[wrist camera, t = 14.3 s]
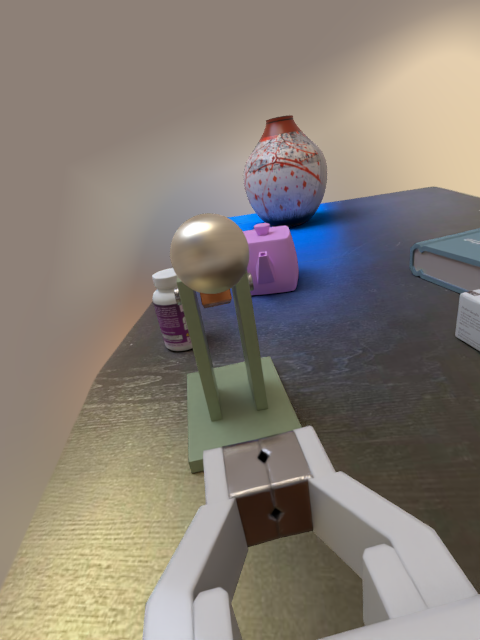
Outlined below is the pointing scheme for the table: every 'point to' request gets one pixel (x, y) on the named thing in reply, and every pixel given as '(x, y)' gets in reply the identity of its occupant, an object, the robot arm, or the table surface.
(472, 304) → the small box
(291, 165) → the vase
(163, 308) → the pill bottle
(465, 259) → the book
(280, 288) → the teapot
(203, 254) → the lever
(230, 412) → the bracket
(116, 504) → the table surface
